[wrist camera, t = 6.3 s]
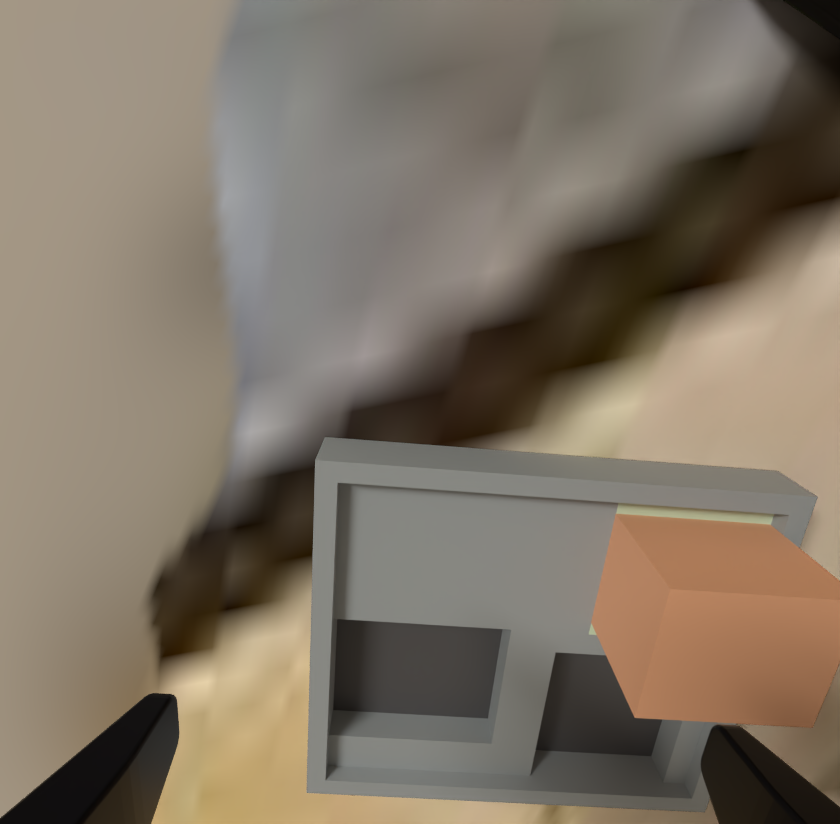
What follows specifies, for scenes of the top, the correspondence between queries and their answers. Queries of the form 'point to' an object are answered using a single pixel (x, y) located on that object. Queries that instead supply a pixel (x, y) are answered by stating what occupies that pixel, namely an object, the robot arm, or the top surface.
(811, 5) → the cordless drill
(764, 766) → the robot arm
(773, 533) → the block
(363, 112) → the top surface
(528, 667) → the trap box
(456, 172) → the top surface
